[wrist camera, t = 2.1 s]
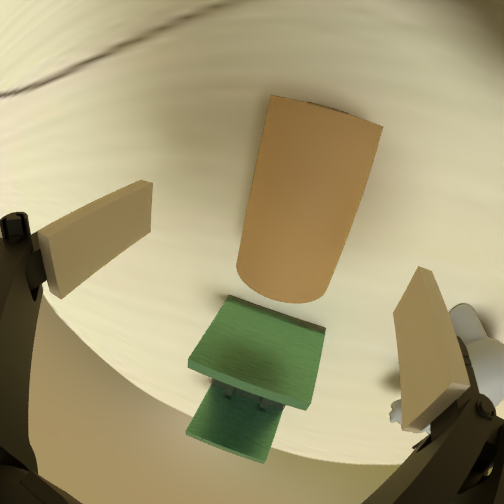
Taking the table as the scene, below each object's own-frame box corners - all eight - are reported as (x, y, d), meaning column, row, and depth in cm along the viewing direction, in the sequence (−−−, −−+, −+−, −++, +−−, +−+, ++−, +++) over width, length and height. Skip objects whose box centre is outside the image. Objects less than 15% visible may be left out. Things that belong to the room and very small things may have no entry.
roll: (283, 96, 19) (257, 90, 13) (376, 122, 18) (392, 128, 12) (251, 239, 25) (221, 283, 20) (330, 264, 24) (322, 316, 18)
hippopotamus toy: (367, 366, 28) (360, 442, 20) (481, 282, 20) (517, 356, 12) (417, 403, 29) (418, 468, 21) (516, 338, 21) (541, 404, 13)
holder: (229, 294, 29) (188, 358, 21) (325, 328, 27) (310, 403, 20) (213, 383, 37) (185, 434, 30) (282, 408, 36) (263, 463, 28)
